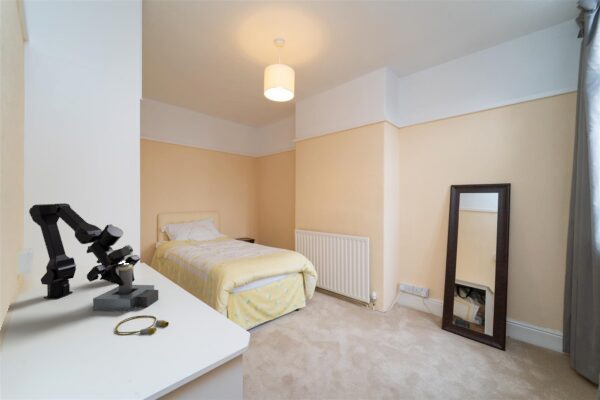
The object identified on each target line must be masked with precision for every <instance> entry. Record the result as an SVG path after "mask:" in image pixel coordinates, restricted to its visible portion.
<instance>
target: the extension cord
mask: <svg viewBox="0 0 600 400" xmlns="http://www.w3.org/2000/svg"><path fill="white" fill-rule="evenodd" d="M138 318H139V319H140V318H153V319H154V318H155V319H154V321H153V323H152V324H151V325H149V326H148V327H145V328H142V329H140V330H137V331H135V330H134V331H119V330H118V329H119V326H121V325H122V324H123V323H126V322H128V321H131V320H134V319H138ZM154 325H157V326H159V327H164V328H166V327H168V326H169V325H170V322H169V321H167V320H164V319H162V320H161V319H160V320H158V319H157V317H156V316H154V315H147V314H146V315H144V314H143V315H135V316H131V317H128V318H125V319H123V320H122V321H119V322H118V323H117V324H116V326H115V332H116V335H118V336H126V335H127V336H128V335H132V334H137V333H140V334H142V335H143V334H144V335H148V334H155V333H156V331H157V327H154Z"/></svg>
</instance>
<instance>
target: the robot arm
mask: <svg viewBox="0 0 600 400" xmlns="http://www.w3.org/2000/svg"><path fill="white" fill-rule="evenodd" d="M71 207H72V206H71V205H70V204H69V203H67V202H66V203H65V202H64V203H61V202H60V203H47V204H45V203H43V204H42V203H41V204H40V203H39V204H33V205H32V207H30V208H29V210H28V211H29V215H30V217H31V219H32V221H33V222H34V223H35V224H37V225H38V226H39V227H40V230H41V234H42V237H43V241H44V244H45V247H46V251H47V254H48V255H47V256H48V258H49V260H48V262H47V265H46V269H45V270H46V272H45V274H44V275H42V277H41V278H40V281H41V282H40V283H41V284H42V285H47V286H46V287H47V288H46V289H47V290H46V291H47V293H46V294H47V295H45V296H43V297H42V299H48V300H49V299H54V300H55V299H56V300H57V299H60V298H61V299H62V298H63V297H66V296H68V295H71V294H73V293H74V292H73V291H71V290H70V289H71V287H70V280H71V279H74V277H75V274H76V271H77V264H76V262H75V258H74V257H73V256H72V257H70V256H68V255H67V253H66V251H65V247H64V243H63V240H62V236H61V233H60V230H59V226H58V222H59V219H61V220H62V221H63V222H64V223H66V225H67V226H68V227H70V228H71V229H72V230H73V231H74V237H75V239H76V240H77V241H78V242H79V243H80V244H81V245H88V246H87V249H86V254H91V253H92V254H93V255H94V256H95V258H96V259H97V261H96V263H97V264H98V265H95V266H93V267H92V268H91V270H89V272H88V273H87V274H86V280H88V281H89V282H93V281H96V280H98V279H99V280H100V281H106V282H110V283H112V284H115V285H118V286H119V285H120V286H123V285H124V283H123V281H122V280H121V278H120V277H119V276H118V274H117V273H116V269H117V268H118V266H119V265H123V264H132V265H133V266H134V267H135V265H137V264H138V263H139V262H140V260H141V257H140V256H139V255H138V254H133V256H130V257H128V258H127V259H126V260H125V261H124V262H122V260H124V259H125V256H127V255H130V254H131V252H133V253H134V248H133V247H132V246H131V245H130V244H127V245H125V246H122V247H123V248H122V247H119V248H120V249H118V248H116V249H117V250H113V249H114V248H113V247H112V246H114V245H116V243H117V242H118V241H119V240H120V239H121V238H122V237H123V235H124V230H122V228H119V227H118V226H114V225H113V224H107V225H105V227H104V229H101V228H100V227H98V226H97V225H95V224H92V223H88V222H87V221H86V220H85V219H84V218H83V217H82V216H80V215H79V214H78V213H77V212H76V210H74V209H73V208H71ZM89 244H91V245H89ZM132 248H133V249H132ZM99 275H100V276H101V277H100V278H99ZM134 281H135V274H134V275H133V271H132V283H133V282H134Z"/></svg>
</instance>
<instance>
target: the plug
mask: <svg viewBox="0 0 600 400" xmlns="http://www.w3.org/2000/svg"><path fill="white" fill-rule="evenodd" d="M132 268H133V265H132V264H123V265H119V266H118V270H119V277H120V278H121V280H122V281H123V283H124V285H123V286H120V285H118V286H119V295H128V294H130V293H132V285H133V282H132Z"/></svg>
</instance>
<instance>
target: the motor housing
mask: <svg viewBox="0 0 600 400" xmlns="http://www.w3.org/2000/svg"><path fill="white" fill-rule="evenodd" d="M157 301H159V289H155V285H154V284H132V293H130V294H128V295H119V285H118V286H115V287H114V288H112V289H110V290H108V291H106V292H104V293H102V294H99V295H97V296H95V297H93V298H92V309H93V312H130V313H131V311H133V310H135V309H136V308H148V307H150V306H151V305H153V304H154V303H156V302H157Z"/></svg>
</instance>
